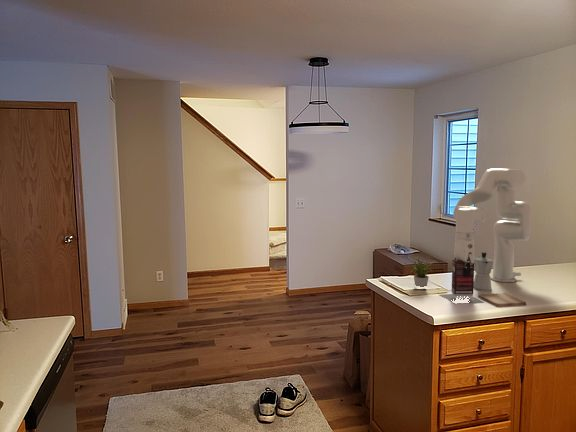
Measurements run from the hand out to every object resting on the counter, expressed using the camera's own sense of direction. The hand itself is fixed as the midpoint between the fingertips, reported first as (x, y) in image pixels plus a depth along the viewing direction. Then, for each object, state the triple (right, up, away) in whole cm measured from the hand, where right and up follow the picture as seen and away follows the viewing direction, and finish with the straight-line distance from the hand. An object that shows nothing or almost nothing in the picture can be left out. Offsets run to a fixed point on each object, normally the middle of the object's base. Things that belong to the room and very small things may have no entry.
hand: (462, 274), depth 199 cm
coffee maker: (+17, -9, +19) cm, 27 cm away
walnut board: (+16, -12, -2) cm, 20 cm away
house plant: (-15, -9, +18) cm, 25 cm away
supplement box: (0, -10, +1) cm, 10 cm away
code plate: (0, -11, +1) cm, 11 cm away
